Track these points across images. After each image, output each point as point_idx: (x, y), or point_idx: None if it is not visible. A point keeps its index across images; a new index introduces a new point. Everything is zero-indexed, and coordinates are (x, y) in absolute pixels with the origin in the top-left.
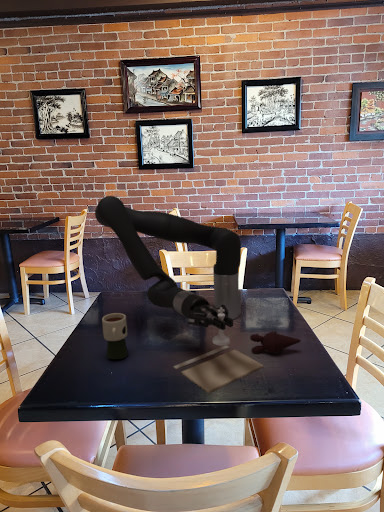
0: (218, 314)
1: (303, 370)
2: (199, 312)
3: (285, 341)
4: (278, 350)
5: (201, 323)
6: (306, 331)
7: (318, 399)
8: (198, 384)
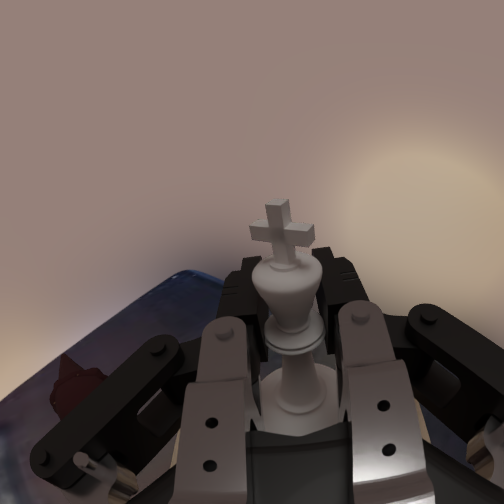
0: (314, 267)
1: (147, 337)
2: (448, 491)
3: (81, 368)
4: None
5: (442, 396)
6: (5, 400)
7: (219, 281)
8: (419, 407)
